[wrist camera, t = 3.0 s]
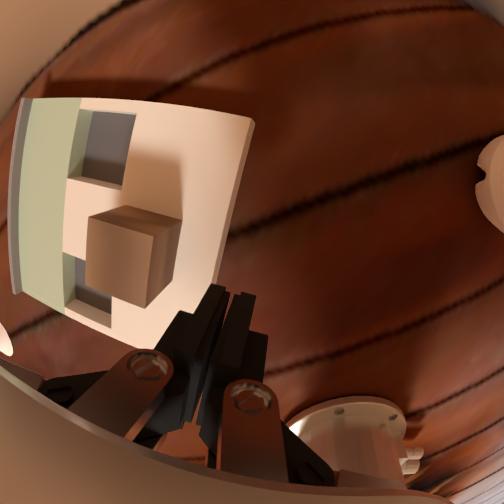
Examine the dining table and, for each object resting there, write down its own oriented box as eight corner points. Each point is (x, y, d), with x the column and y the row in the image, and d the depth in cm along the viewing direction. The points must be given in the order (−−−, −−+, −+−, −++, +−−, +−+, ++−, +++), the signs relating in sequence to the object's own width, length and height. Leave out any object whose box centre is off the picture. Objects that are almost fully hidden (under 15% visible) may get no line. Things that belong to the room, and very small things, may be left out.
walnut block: (182, 220, 17) (153, 236, 13) (172, 280, 18) (145, 308, 14) (126, 204, 17) (88, 216, 13) (119, 262, 18) (85, 285, 15)
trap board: (255, 123, 17) (248, 115, 14) (201, 353, 22) (189, 377, 19) (45, 100, 17) (21, 98, 15) (32, 281, 23) (12, 293, 20)
